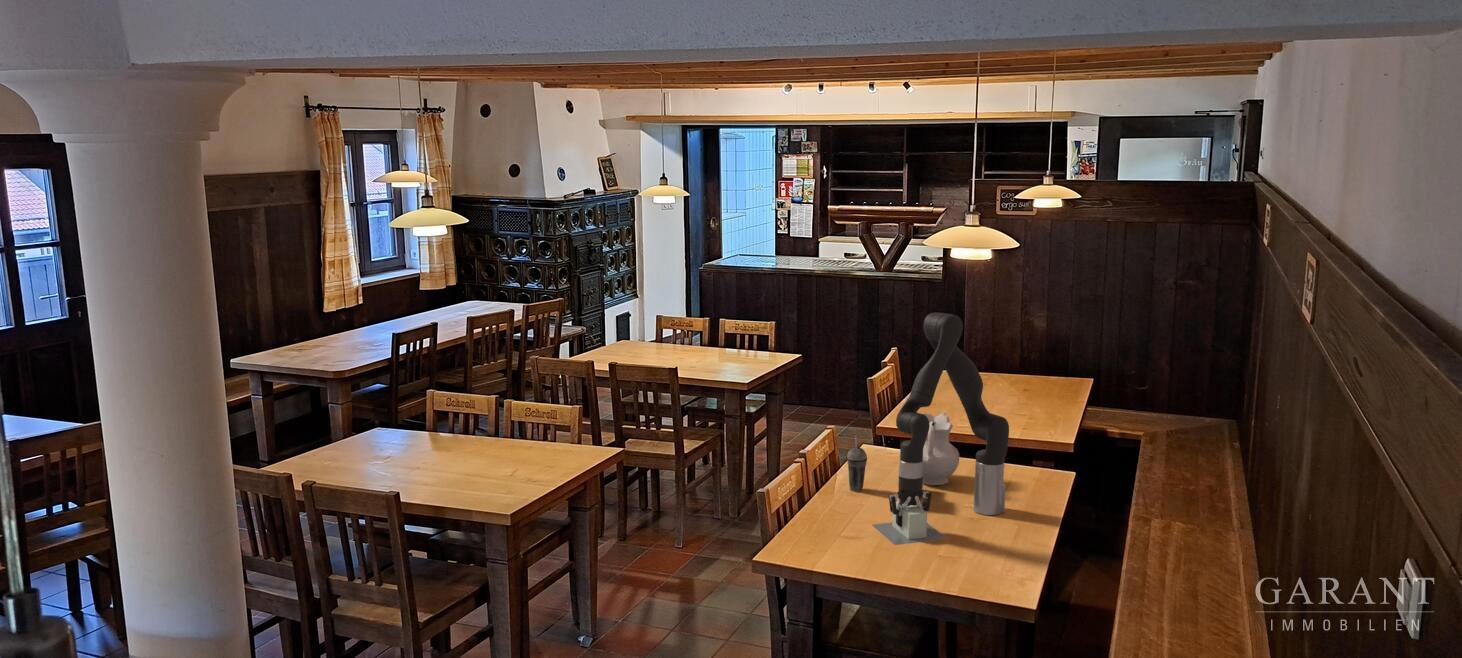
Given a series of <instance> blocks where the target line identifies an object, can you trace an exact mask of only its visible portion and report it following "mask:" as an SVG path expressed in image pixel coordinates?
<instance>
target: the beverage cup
mask: <svg viewBox="0 0 1462 658" xmlns="http://www.w3.org/2000/svg"><path fill="white" fill-rule="evenodd" d="M846 456H847V457H846V460H847V466H848V469H847V470H848V479H849V480H848V484H849V485H848V486H849V490H850V492H853V491H854V492H855V493H858V492H859V491H860V492H862V491H863V487H864V482H865V473H866V466H867V461H868V455H867V452H866V451H865V450H864V448H862V447H859V446H858V436H857V435H855V446H854V447H852V448H851V449H849V450H848V453H847V455H846Z"/></svg>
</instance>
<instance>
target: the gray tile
mask: <svg viewBox="0 0 1462 658" xmlns="http://www.w3.org/2000/svg"><path fill="white" fill-rule="evenodd" d="M871 526H872V527H874V529H876V530H877V531H878V532H879V533H880V534H881V535H883V536H884V537H885V538H886V539H887V540H888V541H890V542H891V543H892V544H893V545H894V546H898V545H907V544H916V543H917V544H918V543H925V542H933V541H943V540H948V538H947V537H946V536H945V535H943V534H942V533H941V532H940V531H938V530H937V529H935V527H933V526H931V525H930V524H929V522H927V531H926V538H917V539H908V538H906V537H905V536H904V535H903V534H902V533H900V532H899V531H898V530H897V529H895V528H894V527H893V526H892V522H884V523H882V522H881V523H875V524H871Z"/></svg>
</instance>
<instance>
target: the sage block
mask: <svg viewBox="0 0 1462 658" xmlns="http://www.w3.org/2000/svg"><path fill="white" fill-rule="evenodd" d="M898 503H899V501H897V502H896V508H897V507H898ZM902 505H903V504H902ZM927 523H928V511H924V510H922V509H921V508H918V507H916V506H915V505H914V506H913V505H910V506H907V507H906V509H905V510H903V514H902V527H899V526H898V525H897V524H896V514H895V515H894V514H893V513H892V526H893V527H894V528H895V529H897V530H898V531H899V532H900V533H902V534H903V535H904V536H905V537H906V538H908V539H917V538H926V531H927Z"/></svg>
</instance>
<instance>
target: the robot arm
mask: <svg viewBox="0 0 1462 658" xmlns="http://www.w3.org/2000/svg"><path fill="white" fill-rule="evenodd" d="M963 328H964V327H963V322H962V319H961V317H959V316H958V315H956V314H951V313H943V312H931V313H929V314H927V315H926V316H925V318H924V321H923V332H924V335H925V337H926V339H927V341H928V342H929V344H930V346H931V347H932V349H933V350H934V352H933V354H932V356H931V357H930V358H929V360H928V361H927V362H926V363H925V364H924V365H923V367H921V369H920V370H919V371H918V373H917V374H916V377H915V379H914V381H913V385H912V387H911V390H910V393H909V396H908V398H907V399H906V400H905V402H904V403H903V405H902V406H901V408H900V409H899V411H898V413H897V415H896V418H895V419H896V420H895V425H896V428H897V429H898V431H900V432H901V433H905V434H909V435H911V439H908V440H903V441H902V442H901V443H900V450H899V451H900V453H899V466H898V484H897V485H898V487H897V488H898V491H897V493H896V494H889V495H888V503H889V512H891V513H892V515H893V514H894V515H895V514H896V524H897V525H898V526H899V527H902V514H903V510H905V509H906V507H907V506H910V505H913V506H914V505H915V506H916V507H918V508H921V509H922V510H924V511H925V512H928V511H930V507H931V501H932V493H931V492H930V491H929V490H925V491H923V485H924V484H923V448H924V444H925V441H926V438H927V435H928V432H929V427H930V424H929V420H928V418H927V416H925V415H924V414H923V413H921V412H919V410H920V408H928V407H930V406H931V404H932V402H933V401H934V400H933V399H934V397H935V393H936V390H937V387H938V384H939V381H940V379H941V376H942V374H943V371H944V370H945V372H946V373H947V376H948V379H949V380H950V383H951V384H952V386H953V389H954V390H955V392H956V394H957V396H958V398H959V400H960V403H961V405H962V407H963V409H964V411H965V414H966V417H967V421H968V423H969V425H970V428H971V431H972V433H973V435H974V436H975V437H976V438H978V439H980V440H983V441H985V442H986V444H985V445H986V446H985V449H980V450H978V451H977V452H976V454H975V466H974V467H975V468H974V470H975V472H974V491H973V511H974V512H975V513H977V514H981V515H984V516H996V515H1000V514H1002V513H1005V509H1006V508H1005V507H1006V506H1005V504H1006V488H1007V487H1006V486H1007V485H1006V484H1005V483H1004V475H1005V474H1004V473H1005V472H1004V471H1005V458H1006V456H1007V453H1008V449H1009V448H1008V447H1009V436H1010V425H1009V421H1008V420H1007V419H1006V418H1005V417H1003V416H1000V415H997V414H994V413H992V412H990V411H989V410H988V409H987V407H986V406H985V403H984V401H983V399H982V396H983V395H982V394H983V389H984V382H983V379H982V376H981V374H980V372H979V370H978V368H977V366H976V365H975V363H974V362H973V360H972V359H970V358H969V357H968V356H967V354H965V353H964V352H963V351H962V350H961V349H960V348H959V347H958V346H957V345H958V343H959V341H960V339H961V336H962V333H963ZM922 497H923V501H922V502H921V499H922ZM899 499H900V501H899ZM896 502H899V503H898V507H897V508H896ZM902 504H903V505H902Z"/></svg>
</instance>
